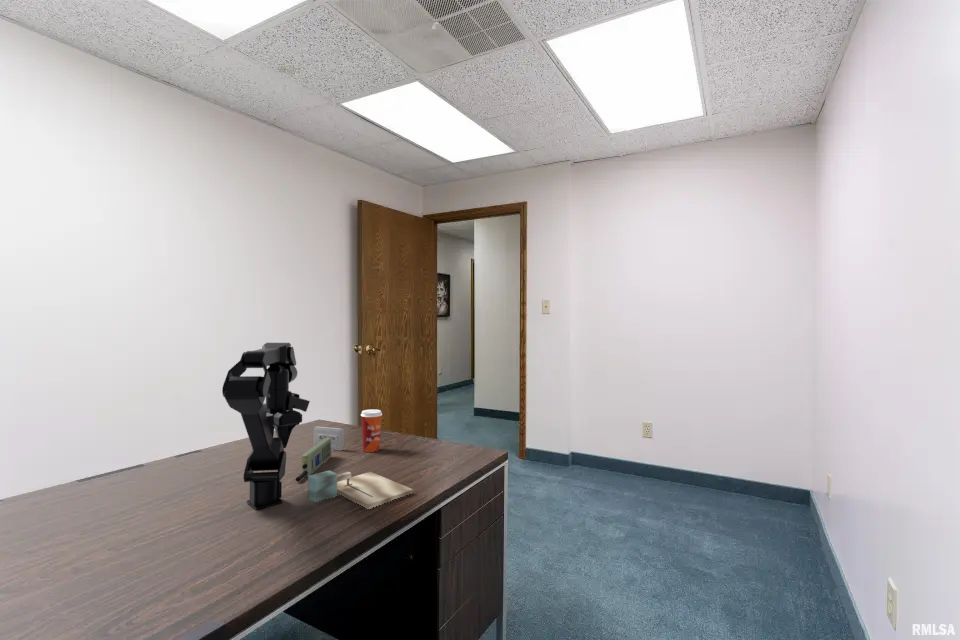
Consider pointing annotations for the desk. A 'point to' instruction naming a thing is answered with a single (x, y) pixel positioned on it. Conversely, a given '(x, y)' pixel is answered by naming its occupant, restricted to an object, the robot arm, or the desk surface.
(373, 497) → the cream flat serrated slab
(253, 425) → the robot arm
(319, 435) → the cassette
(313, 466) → the handheld radio
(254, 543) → the desk surface
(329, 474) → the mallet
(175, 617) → the desk surface
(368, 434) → the paper cup
